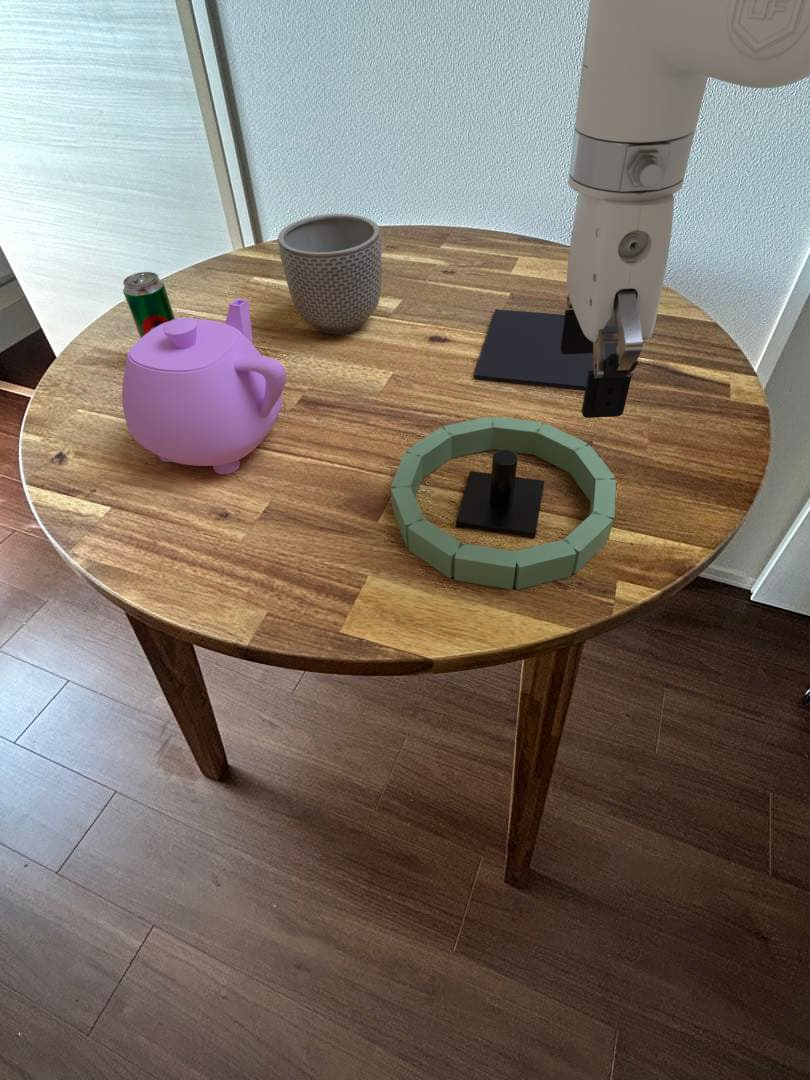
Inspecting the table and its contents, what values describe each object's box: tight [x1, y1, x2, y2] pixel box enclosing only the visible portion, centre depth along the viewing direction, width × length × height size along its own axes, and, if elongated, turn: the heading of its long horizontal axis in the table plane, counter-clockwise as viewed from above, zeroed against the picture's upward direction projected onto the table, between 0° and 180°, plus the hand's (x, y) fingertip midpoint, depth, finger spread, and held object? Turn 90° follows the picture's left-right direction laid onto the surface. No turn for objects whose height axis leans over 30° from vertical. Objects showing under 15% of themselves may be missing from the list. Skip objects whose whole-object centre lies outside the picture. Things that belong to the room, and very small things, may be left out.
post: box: [455, 450, 545, 539], centre depth 65 cm, size 8×8×6 cm
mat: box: [473, 308, 618, 391], centre depth 88 cm, size 18×18×1 cm
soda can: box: [122, 271, 176, 340], centre depth 86 cm, size 5×5×12 cm
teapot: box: [121, 297, 287, 475], centre depth 73 cm, size 20×20×15 cm
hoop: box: [390, 416, 617, 591], centre depth 66 cm, size 22×22×3 cm
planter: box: [277, 213, 383, 335], centre depth 91 cm, size 14×14×13 cm
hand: (589, 381), depth 55 cm, fingers open, 9 cm apart
